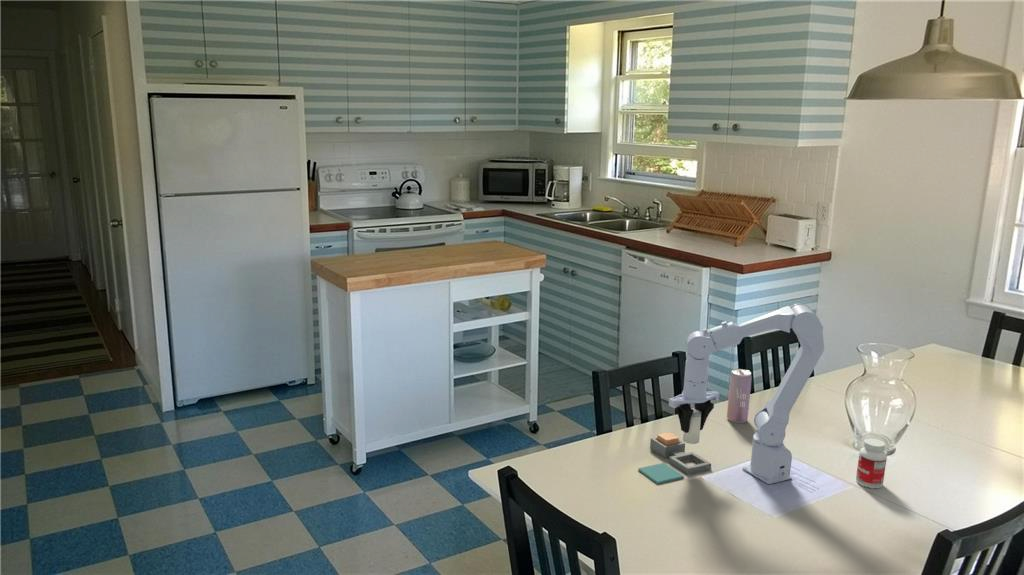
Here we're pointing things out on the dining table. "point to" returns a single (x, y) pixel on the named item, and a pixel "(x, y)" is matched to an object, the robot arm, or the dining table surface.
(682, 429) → the robot arm
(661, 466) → the mat
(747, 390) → the beverage can
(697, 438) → the cylinder
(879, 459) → the pill bottle
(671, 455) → the housing
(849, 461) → the dining table surface
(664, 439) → the orange cube
